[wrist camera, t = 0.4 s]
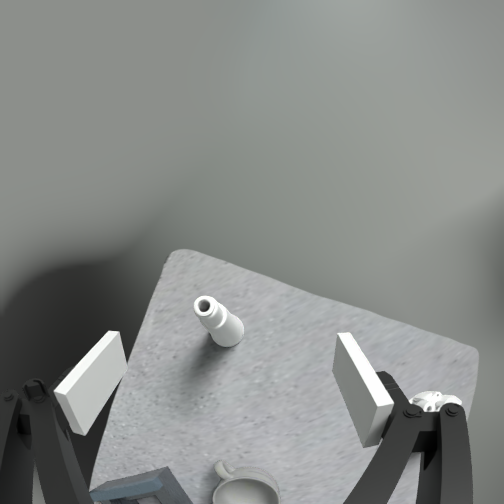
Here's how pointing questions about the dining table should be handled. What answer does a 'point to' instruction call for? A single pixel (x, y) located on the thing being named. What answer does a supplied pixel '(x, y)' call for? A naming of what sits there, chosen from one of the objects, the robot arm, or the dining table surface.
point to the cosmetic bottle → (219, 321)
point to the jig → (142, 489)
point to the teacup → (244, 486)
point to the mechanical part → (433, 400)
